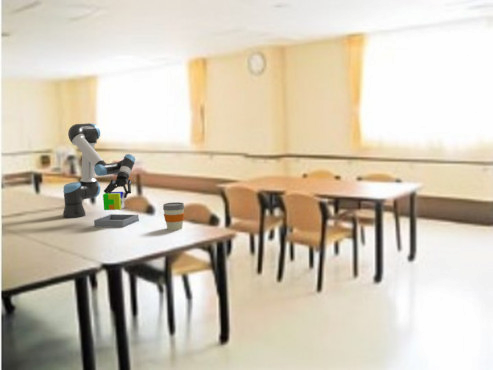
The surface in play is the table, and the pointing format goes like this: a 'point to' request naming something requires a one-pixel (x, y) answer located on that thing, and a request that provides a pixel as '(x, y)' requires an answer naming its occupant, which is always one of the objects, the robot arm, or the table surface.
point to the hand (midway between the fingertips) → (113, 201)
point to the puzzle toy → (113, 201)
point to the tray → (116, 220)
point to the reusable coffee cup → (174, 215)
